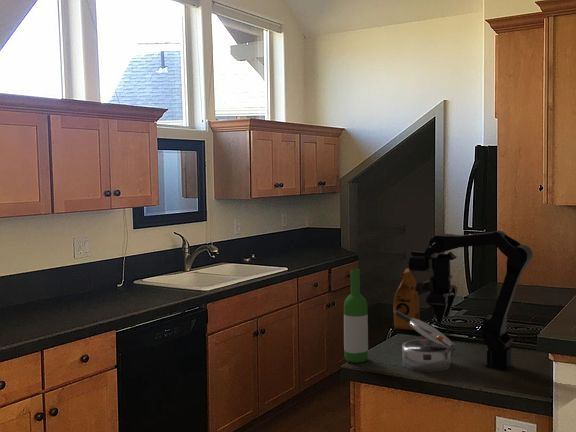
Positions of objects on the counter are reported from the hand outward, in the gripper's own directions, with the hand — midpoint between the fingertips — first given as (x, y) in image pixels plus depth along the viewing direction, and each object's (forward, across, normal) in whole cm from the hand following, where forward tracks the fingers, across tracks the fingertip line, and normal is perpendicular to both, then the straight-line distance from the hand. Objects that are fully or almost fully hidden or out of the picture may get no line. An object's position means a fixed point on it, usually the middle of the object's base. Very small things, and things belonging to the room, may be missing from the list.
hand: (442, 319), depth 213 cm
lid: (+2, +9, -4) cm, 10 cm away
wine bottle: (+12, +13, -26) cm, 31 cm away
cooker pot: (+13, +9, -4) cm, 16 cm away
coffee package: (+12, -34, -22) cm, 43 cm away
